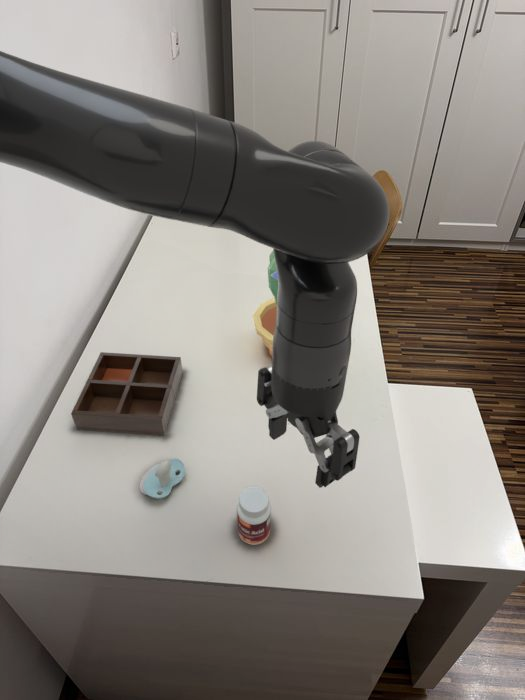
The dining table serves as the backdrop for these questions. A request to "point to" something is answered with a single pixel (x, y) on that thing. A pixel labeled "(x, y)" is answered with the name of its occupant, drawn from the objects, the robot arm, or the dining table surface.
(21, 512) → the dining table surface
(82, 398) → the grid
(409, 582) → the dining table surface
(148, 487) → the pacifier
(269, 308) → the potted cactus
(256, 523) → the pill bottle
